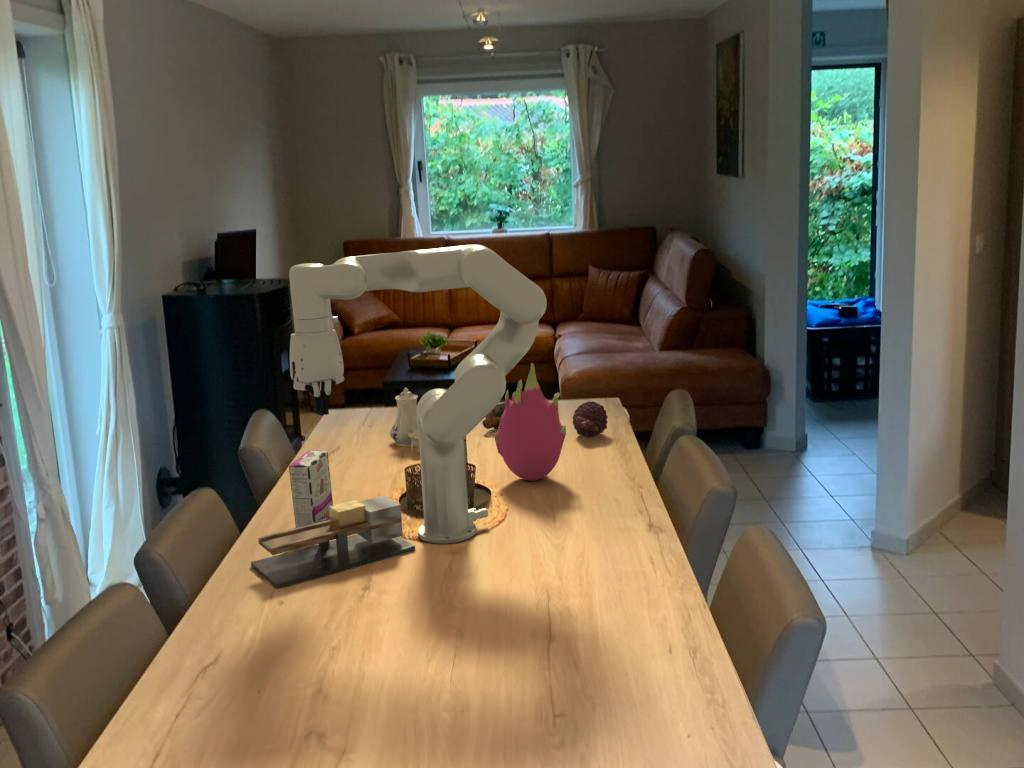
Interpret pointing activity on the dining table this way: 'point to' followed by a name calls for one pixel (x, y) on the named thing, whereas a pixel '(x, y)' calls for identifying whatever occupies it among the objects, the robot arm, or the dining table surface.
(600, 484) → the dining table surface
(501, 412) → the decorative turtle
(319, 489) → the candy bar box
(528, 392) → the pink dragon fruit
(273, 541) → the beam
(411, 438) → the chinaware
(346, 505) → the brass block
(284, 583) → the stand
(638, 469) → the dining table surface
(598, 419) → the pine cone
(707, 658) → the dining table surface
